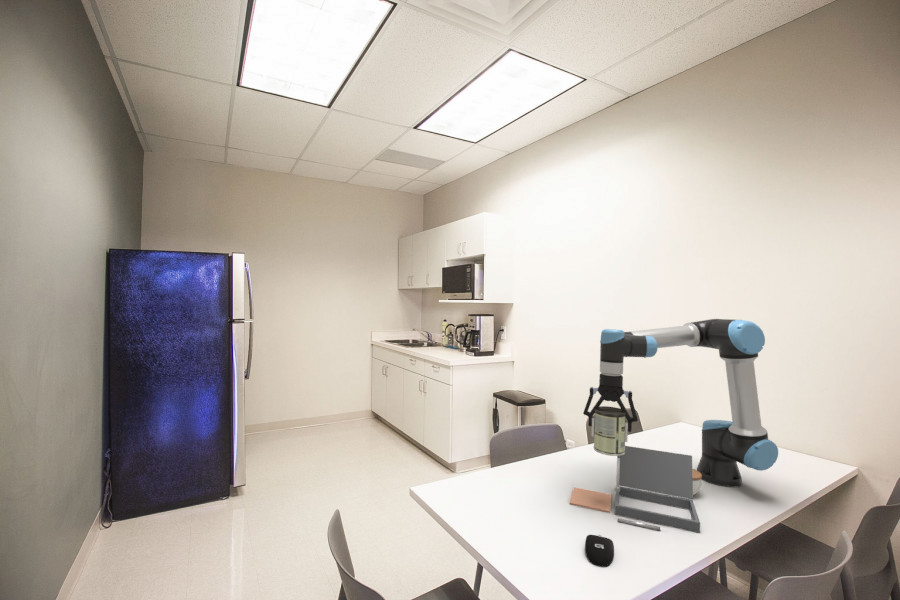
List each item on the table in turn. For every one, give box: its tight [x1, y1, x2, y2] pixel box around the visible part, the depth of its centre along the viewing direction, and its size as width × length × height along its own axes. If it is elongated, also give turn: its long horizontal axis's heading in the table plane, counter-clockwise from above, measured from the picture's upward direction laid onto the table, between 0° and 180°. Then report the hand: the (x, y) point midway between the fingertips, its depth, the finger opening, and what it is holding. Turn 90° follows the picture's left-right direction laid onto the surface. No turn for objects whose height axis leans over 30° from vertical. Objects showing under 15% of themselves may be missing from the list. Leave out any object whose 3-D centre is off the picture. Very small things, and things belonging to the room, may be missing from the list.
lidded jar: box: [692, 468, 702, 496], centre depth 151 cm, size 11×11×9 cm
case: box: [614, 445, 701, 534], centre depth 138 cm, size 24×20×17 cm
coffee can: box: [593, 405, 627, 457], centre depth 141 cm, size 10×10×14 cm
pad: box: [568, 487, 612, 514], centre depth 143 cm, size 13×13×1 cm
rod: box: [617, 517, 661, 532], centre depth 127 cm, size 12×1×1 cm, turn 66°
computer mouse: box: [584, 534, 615, 568], centre depth 112 cm, size 8×12×4 cm, turn 158°
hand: (609, 438), depth 141 cm, fingers closed on coffee can, 10 cm apart
